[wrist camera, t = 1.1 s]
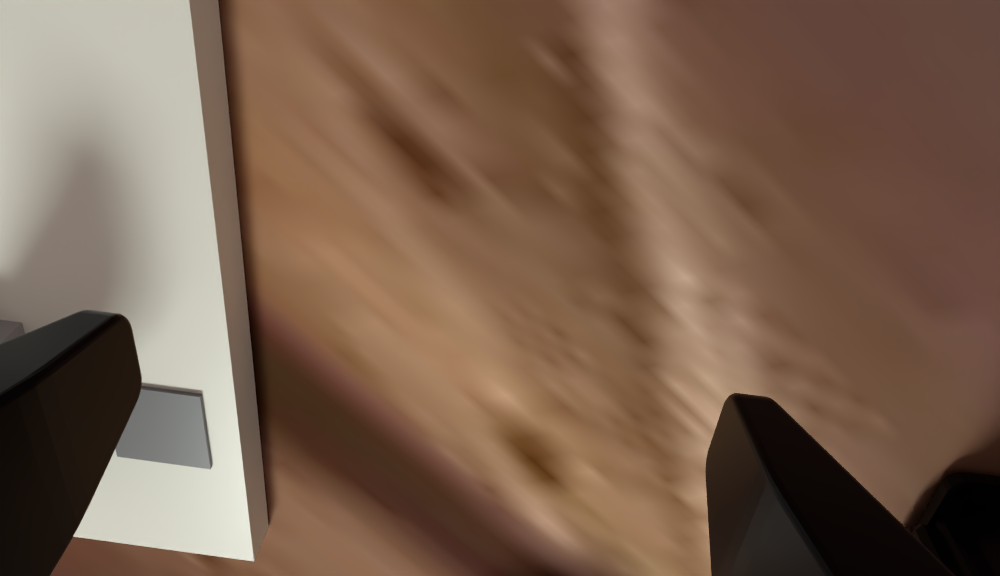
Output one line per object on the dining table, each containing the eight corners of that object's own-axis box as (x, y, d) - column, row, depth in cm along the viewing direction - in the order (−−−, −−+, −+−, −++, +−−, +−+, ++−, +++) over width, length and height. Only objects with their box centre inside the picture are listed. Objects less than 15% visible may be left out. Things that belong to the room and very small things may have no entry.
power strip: (184, -358, 14) (89, -399, 11) (268, 526, 28) (234, 606, 25) (-230, -406, 14) (-423, -459, 12) (54, 497, 28) (-4, 573, 25)
